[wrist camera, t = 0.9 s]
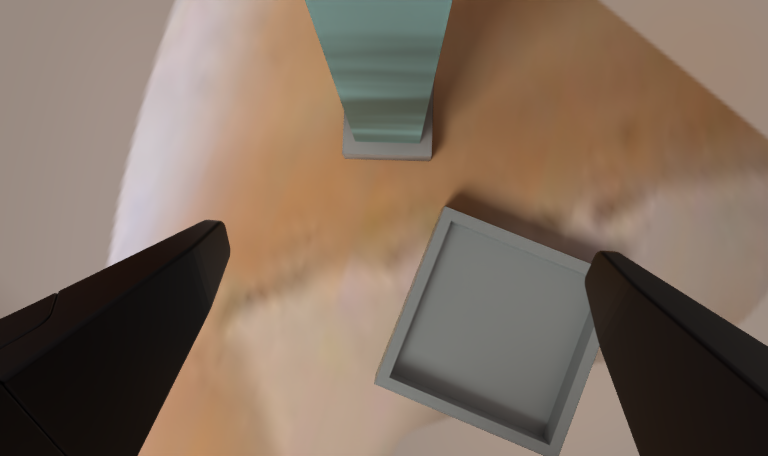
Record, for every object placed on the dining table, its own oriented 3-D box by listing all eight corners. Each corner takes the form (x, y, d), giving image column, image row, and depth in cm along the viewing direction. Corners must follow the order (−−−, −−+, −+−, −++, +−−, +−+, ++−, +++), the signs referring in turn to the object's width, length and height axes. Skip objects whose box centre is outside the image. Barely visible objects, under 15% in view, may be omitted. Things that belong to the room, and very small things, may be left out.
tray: (544, 445, 22) (556, 461, 20) (375, 374, 22) (374, 383, 21) (608, 275, 22) (624, 277, 21) (441, 209, 23) (445, 206, 21)
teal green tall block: (429, 160, 23) (484, 19, 9) (345, 158, 23) (269, 16, 9) (431, 78, 23) (488, -183, 9) (348, 76, 23) (280, -184, 9)
